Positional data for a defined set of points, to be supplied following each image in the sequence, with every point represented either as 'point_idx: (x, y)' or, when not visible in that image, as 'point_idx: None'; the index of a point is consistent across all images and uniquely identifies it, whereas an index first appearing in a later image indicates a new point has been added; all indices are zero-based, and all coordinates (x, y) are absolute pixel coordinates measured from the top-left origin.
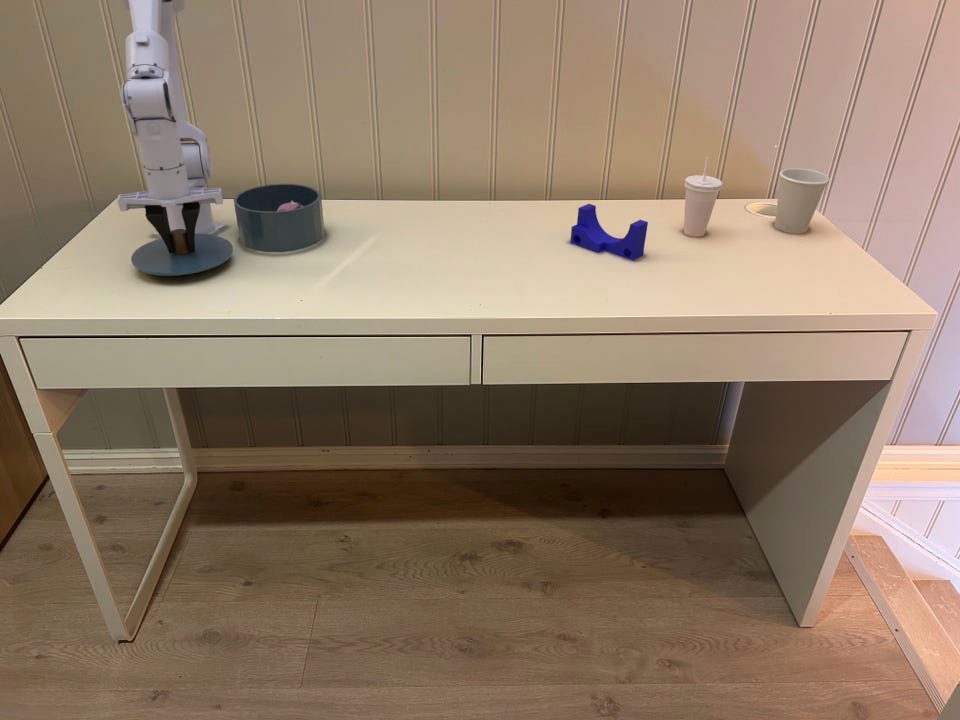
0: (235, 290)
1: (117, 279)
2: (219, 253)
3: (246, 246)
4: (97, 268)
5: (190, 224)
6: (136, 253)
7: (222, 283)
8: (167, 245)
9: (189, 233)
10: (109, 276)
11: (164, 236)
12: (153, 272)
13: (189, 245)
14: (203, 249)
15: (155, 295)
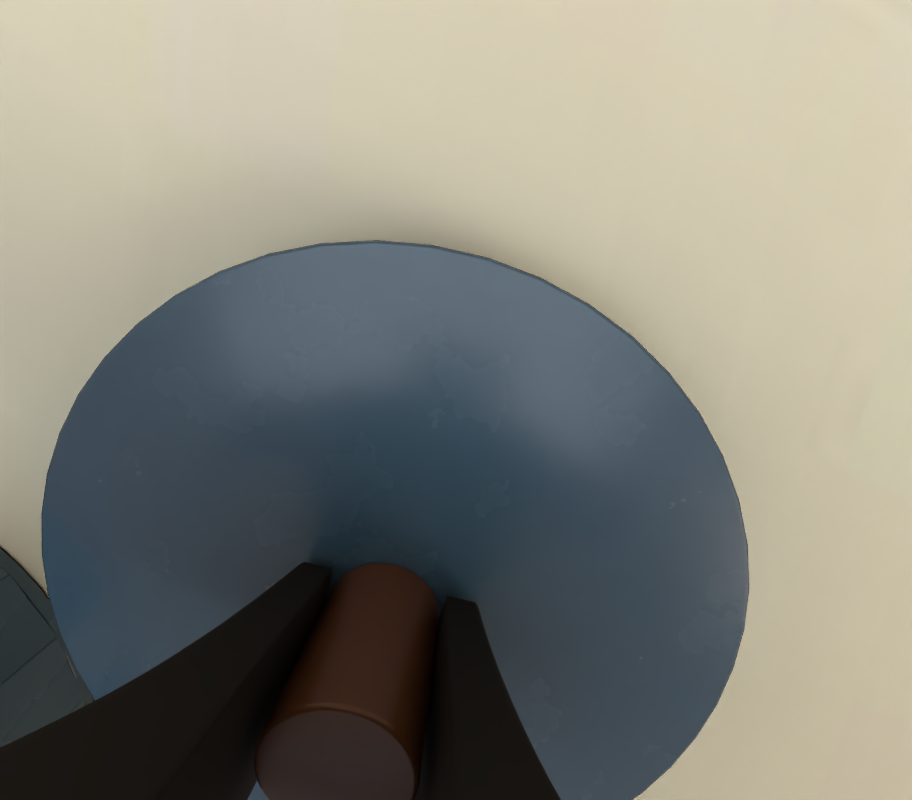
0: (155, 72)
1: (784, 566)
2: (134, 473)
3: (44, 634)
4: (834, 738)
5: (83, 758)
6: (680, 721)
7: (228, 230)
8: (480, 645)
9: (219, 669)
10: (810, 621)
11: (492, 720)
12: (652, 357)
13: (304, 590)
14: (241, 591)
15: (646, 240)
